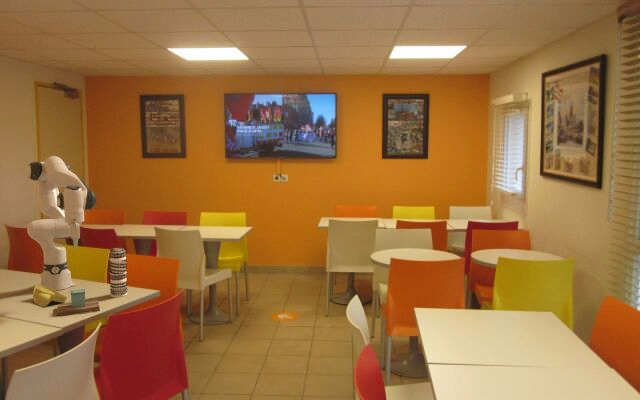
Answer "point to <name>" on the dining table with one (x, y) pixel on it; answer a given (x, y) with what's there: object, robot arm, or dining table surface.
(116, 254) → the brown white cylinder
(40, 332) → the dining table surface
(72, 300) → the housing cap
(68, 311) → the stub plate
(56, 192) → the robot arm
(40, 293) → the plastic component
